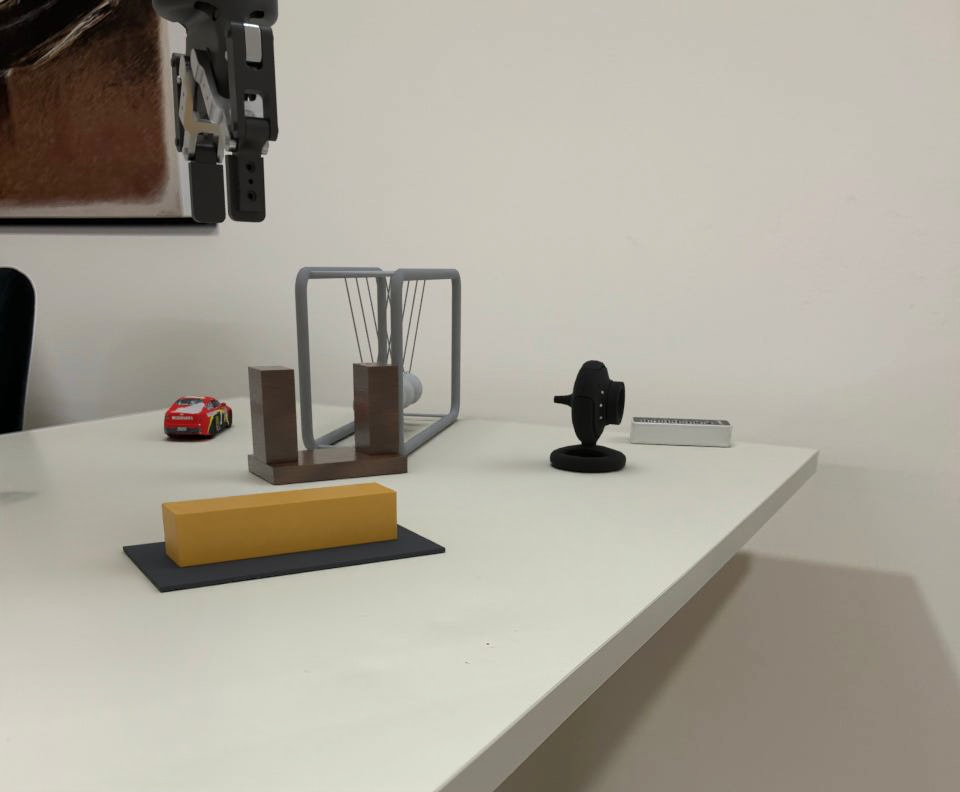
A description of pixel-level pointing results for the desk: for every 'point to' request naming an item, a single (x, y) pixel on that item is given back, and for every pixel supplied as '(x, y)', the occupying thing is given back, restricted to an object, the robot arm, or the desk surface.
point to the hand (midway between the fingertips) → (227, 222)
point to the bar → (278, 523)
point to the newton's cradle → (380, 346)
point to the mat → (272, 561)
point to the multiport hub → (680, 431)
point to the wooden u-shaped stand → (366, 458)
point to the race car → (197, 416)
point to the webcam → (592, 420)
